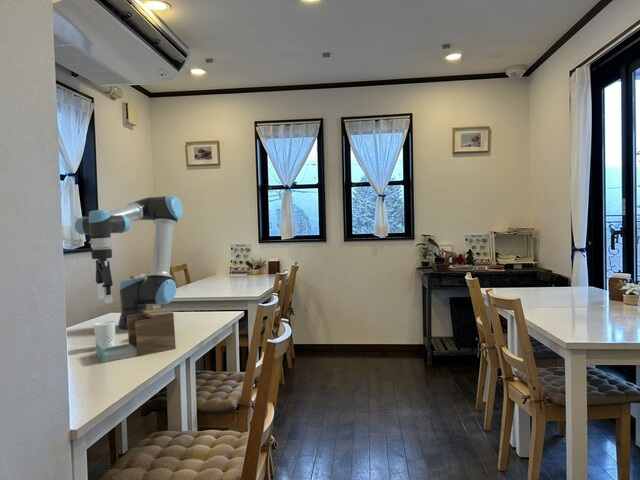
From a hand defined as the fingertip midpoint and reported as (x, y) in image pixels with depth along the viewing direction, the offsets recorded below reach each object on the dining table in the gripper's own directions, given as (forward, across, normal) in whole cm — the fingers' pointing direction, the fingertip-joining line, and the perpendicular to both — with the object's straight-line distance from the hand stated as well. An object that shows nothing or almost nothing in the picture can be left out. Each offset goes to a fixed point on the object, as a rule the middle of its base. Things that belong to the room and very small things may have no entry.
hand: (105, 301), depth 184 cm
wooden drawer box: (+19, +16, +13) cm, 28 cm away
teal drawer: (+19, +16, +1) cm, 25 cm away
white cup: (+19, 0, -1) cm, 19 cm away
